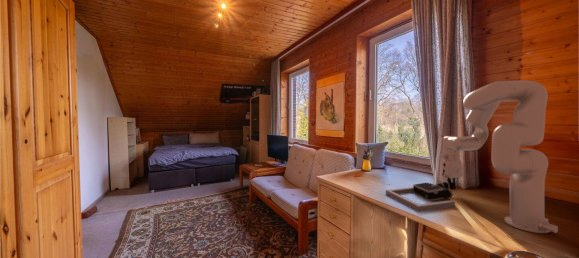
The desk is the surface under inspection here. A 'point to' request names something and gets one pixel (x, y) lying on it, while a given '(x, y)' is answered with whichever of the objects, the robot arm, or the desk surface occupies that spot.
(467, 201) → the desk surface
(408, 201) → the stand
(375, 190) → the desk surface
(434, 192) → the film camera
